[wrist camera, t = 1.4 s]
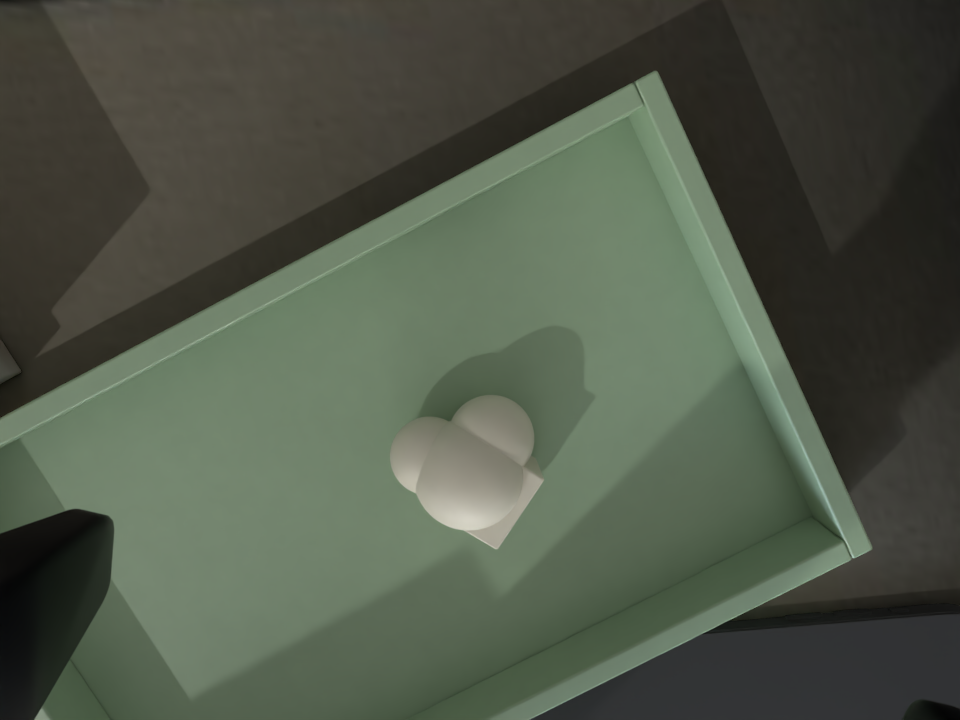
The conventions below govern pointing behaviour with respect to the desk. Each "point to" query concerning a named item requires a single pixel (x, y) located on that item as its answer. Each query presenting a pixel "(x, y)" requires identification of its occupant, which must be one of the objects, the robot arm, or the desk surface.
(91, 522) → the robot arm
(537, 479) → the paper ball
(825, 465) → the tray
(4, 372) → the tan block
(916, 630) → the phone
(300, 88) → the desk surface
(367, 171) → the desk surface
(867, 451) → the desk surface
